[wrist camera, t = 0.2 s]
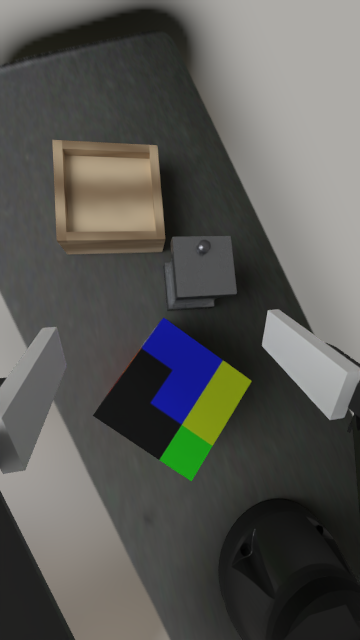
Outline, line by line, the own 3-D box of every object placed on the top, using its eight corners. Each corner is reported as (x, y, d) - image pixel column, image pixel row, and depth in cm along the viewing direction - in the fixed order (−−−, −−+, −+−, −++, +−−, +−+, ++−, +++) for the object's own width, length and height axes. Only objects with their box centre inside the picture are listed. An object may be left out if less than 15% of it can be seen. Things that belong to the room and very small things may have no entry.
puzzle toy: (156, 326, 31) (163, 317, 21) (217, 370, 32) (251, 381, 22) (108, 392, 29) (93, 415, 20) (174, 437, 30) (191, 481, 20)
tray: (162, 252, 32) (165, 239, 28) (67, 254, 30) (56, 240, 26) (155, 168, 34) (157, 145, 30) (63, 165, 31) (52, 140, 28)
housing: (210, 307, 33) (239, 292, 23) (167, 310, 32) (178, 296, 22) (206, 265, 33) (232, 233, 24) (163, 266, 32) (173, 233, 23)
